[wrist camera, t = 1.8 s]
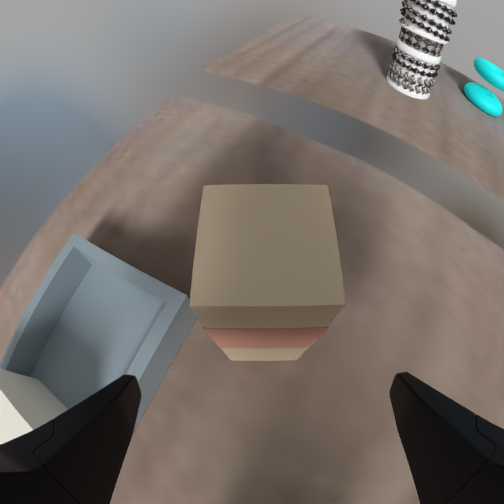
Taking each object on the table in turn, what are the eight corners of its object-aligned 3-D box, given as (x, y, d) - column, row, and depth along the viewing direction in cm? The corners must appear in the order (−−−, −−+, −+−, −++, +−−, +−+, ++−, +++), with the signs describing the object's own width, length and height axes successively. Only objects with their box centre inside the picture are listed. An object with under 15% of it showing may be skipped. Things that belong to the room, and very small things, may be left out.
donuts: (512, 75, 32) (519, 89, 28) (497, 107, 40) (501, 125, 37) (474, 51, 35) (477, 60, 31) (462, 85, 43) (462, 99, 40)
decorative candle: (374, 72, 41) (395, -47, 19) (411, 76, 42) (437, -30, 20) (402, 99, 37) (436, -36, 15) (440, 102, 38) (476, -14, 16)
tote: (95, 505, 13) (70, 517, 10) (8, 420, 16) (-20, 416, 13) (199, 313, 22) (187, 295, 18) (94, 255, 25) (73, 232, 21)
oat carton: (297, 360, 20) (347, 305, 9) (230, 361, 20) (187, 306, 9) (295, 298, 22) (328, 184, 11) (231, 298, 22) (202, 184, 11)
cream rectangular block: (80, 478, 14) (26, 491, 8) (21, 418, 16) (-34, 411, 10) (100, 436, 16) (44, 441, 10) (38, 379, 18) (-18, 362, 12)
